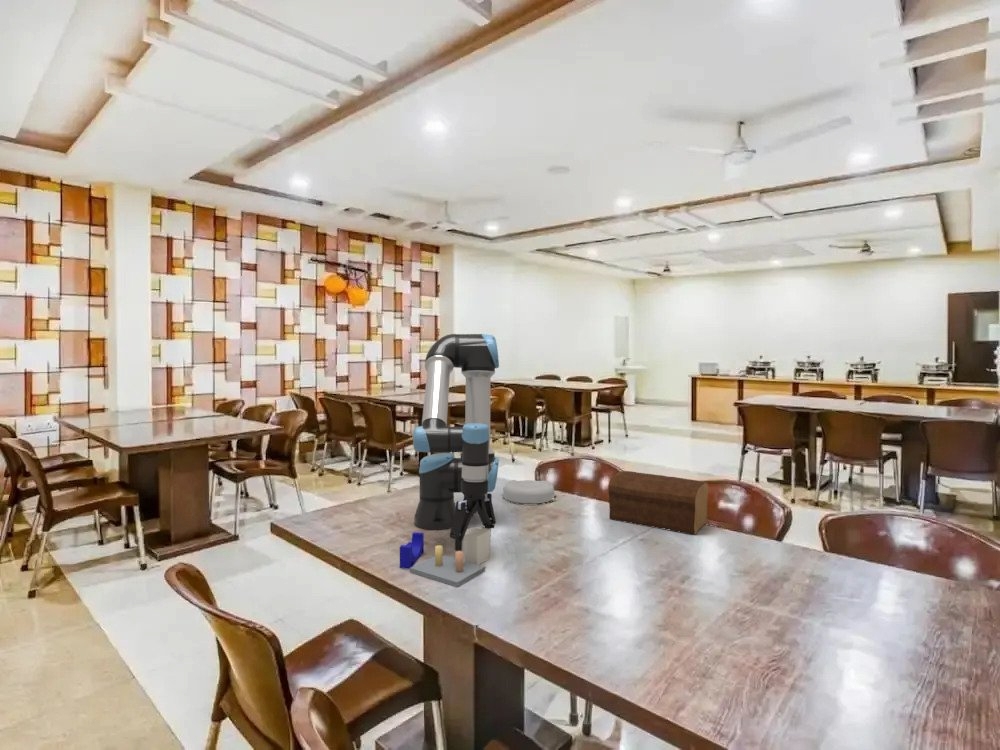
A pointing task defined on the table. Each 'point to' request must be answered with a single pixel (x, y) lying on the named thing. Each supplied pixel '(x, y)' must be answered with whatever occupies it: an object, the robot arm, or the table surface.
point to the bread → (658, 501)
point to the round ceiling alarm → (528, 491)
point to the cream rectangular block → (477, 545)
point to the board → (447, 568)
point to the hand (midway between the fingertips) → (473, 556)
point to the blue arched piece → (412, 551)
